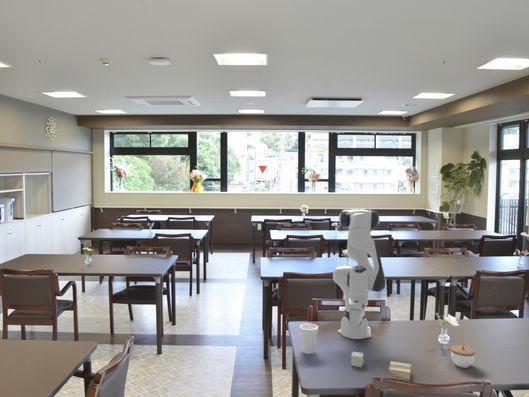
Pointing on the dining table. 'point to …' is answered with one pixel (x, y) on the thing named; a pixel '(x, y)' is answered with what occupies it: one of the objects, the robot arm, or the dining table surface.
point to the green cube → (357, 359)
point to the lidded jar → (462, 355)
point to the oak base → (400, 371)
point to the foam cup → (308, 337)
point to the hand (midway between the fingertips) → (357, 329)
